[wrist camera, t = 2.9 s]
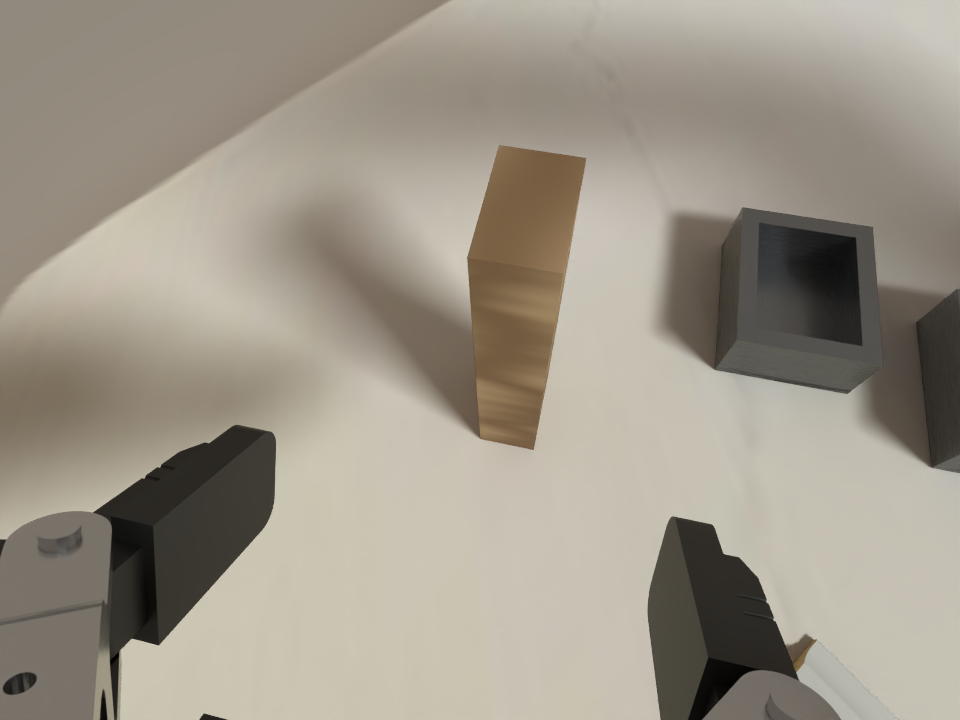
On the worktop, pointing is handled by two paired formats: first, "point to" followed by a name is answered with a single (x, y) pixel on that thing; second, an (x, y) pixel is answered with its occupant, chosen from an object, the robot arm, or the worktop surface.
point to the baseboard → (838, 685)
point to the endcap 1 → (799, 301)
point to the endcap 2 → (942, 380)
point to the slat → (520, 285)
